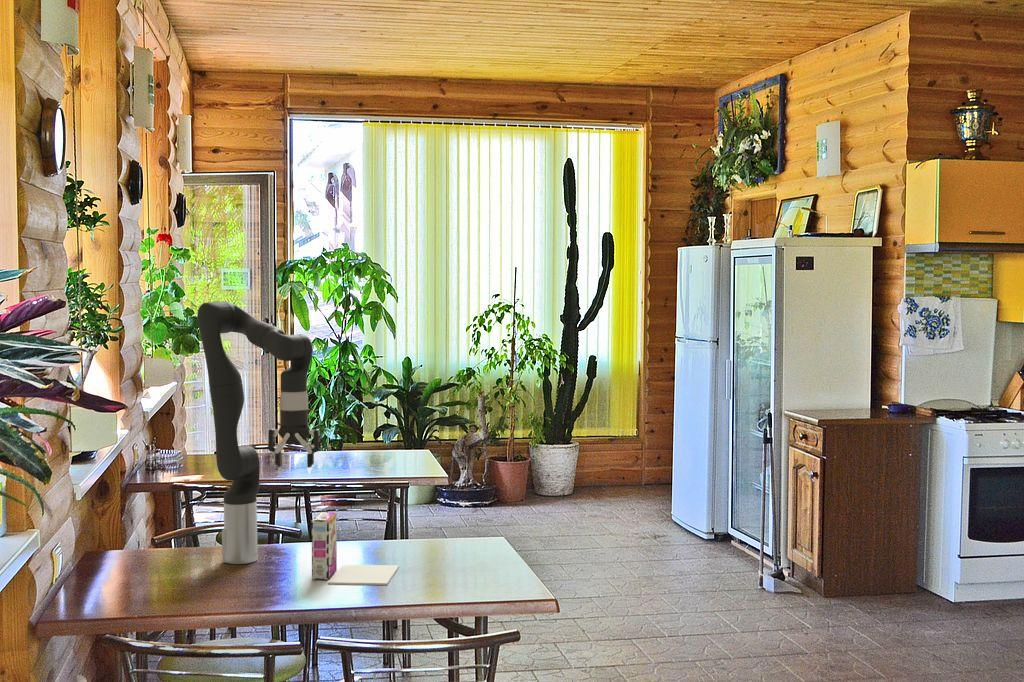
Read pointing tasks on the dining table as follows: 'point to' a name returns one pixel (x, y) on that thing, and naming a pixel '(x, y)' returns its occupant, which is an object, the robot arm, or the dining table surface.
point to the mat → (364, 574)
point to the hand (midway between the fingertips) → (294, 466)
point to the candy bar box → (324, 546)
